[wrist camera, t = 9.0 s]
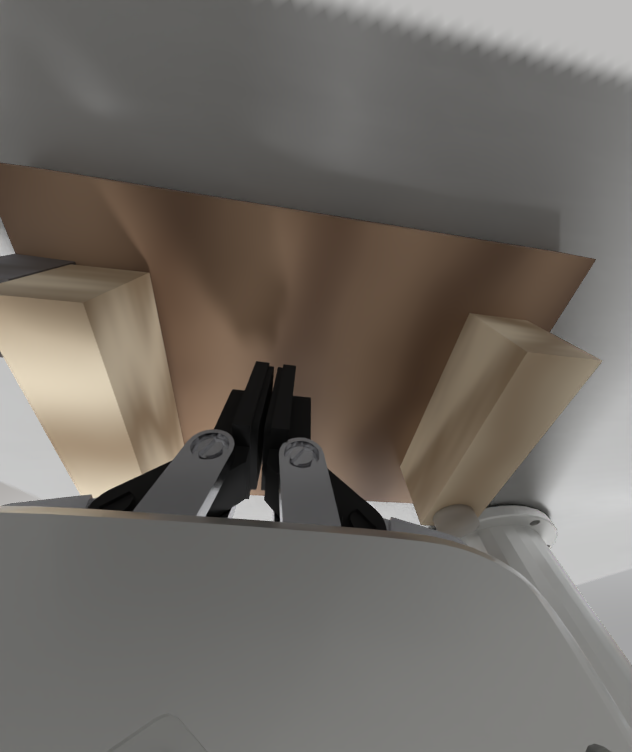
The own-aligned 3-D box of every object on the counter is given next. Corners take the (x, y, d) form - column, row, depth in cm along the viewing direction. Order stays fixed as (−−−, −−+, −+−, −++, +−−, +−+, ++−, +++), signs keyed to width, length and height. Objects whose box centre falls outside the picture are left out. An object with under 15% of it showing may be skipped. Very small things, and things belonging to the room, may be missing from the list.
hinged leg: (188, 468, 18) (156, 543, 14) (139, 465, 17) (92, 541, 14) (149, 272, 11) (67, 310, 7) (70, 264, 11) (-58, 298, 7)
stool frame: (559, 252, 14) (737, 287, 8) (429, 482, 23) (470, 571, 17) (27, 166, 11) (-254, 130, 6) (127, 464, 21) (61, 561, 15)
